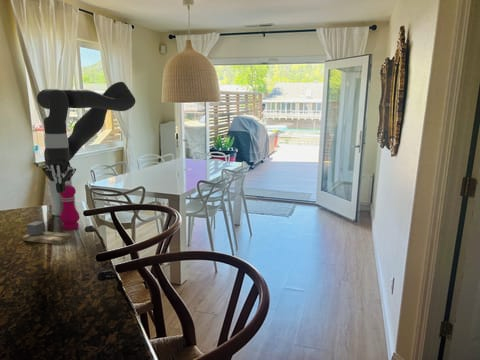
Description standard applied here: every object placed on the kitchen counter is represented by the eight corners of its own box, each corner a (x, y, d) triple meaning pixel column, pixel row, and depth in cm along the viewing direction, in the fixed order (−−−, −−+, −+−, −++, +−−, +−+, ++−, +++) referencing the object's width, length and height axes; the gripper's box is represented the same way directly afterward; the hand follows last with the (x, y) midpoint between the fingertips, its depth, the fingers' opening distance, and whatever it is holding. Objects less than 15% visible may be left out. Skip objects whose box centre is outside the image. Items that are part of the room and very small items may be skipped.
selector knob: (27, 234, 134) (26, 224, 133) (36, 230, 138) (35, 221, 137) (36, 235, 133) (35, 225, 132) (45, 231, 137) (44, 221, 137)
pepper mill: (83, 225, 151) (79, 180, 147) (74, 231, 144) (70, 183, 140) (67, 224, 152) (63, 179, 147) (57, 230, 144) (52, 183, 140)
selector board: (23, 240, 133) (22, 236, 133) (37, 234, 140) (36, 230, 140) (60, 244, 130) (59, 240, 130) (72, 237, 137) (72, 233, 137)
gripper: (33, 146, 124) (38, 193, 128) (66, 147, 121) (70, 196, 125) (48, 144, 131) (52, 189, 135) (80, 145, 129) (83, 191, 132)
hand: (61, 192), depth 130 cm, fingers closed
